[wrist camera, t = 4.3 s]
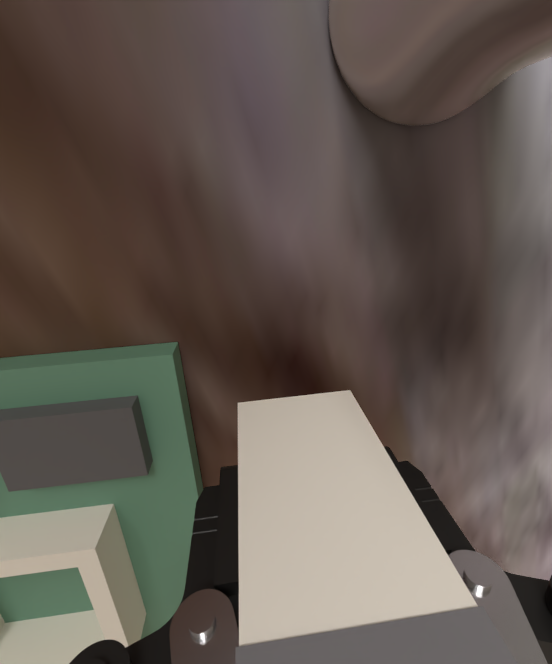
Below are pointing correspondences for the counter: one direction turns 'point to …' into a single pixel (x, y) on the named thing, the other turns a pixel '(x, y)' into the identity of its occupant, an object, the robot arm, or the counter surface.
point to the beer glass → (434, 51)
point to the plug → (342, 548)
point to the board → (93, 498)
